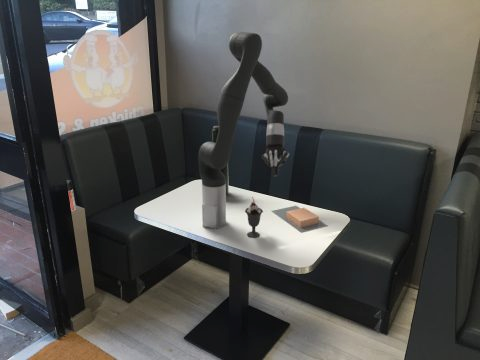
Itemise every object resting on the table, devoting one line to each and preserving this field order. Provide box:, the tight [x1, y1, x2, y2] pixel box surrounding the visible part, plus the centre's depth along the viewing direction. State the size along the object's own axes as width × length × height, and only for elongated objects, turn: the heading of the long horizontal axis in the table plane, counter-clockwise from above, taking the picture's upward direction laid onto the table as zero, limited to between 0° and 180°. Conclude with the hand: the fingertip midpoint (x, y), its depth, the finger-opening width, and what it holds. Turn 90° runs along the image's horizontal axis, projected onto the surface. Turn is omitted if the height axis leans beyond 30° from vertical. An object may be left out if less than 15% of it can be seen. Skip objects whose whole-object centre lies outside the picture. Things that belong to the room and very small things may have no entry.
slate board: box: [271, 205, 329, 234], centre depth 164 cm, size 22×13×1 cm, turn 27°
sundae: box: [244, 196, 264, 239], centre depth 149 cm, size 7×7×15 cm
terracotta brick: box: [286, 207, 320, 228], centre depth 161 cm, size 3×9×10 cm
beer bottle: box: [211, 125, 230, 197], centre depth 183 cm, size 10×10×33 cm
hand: (275, 176), depth 165 cm, fingers closed
